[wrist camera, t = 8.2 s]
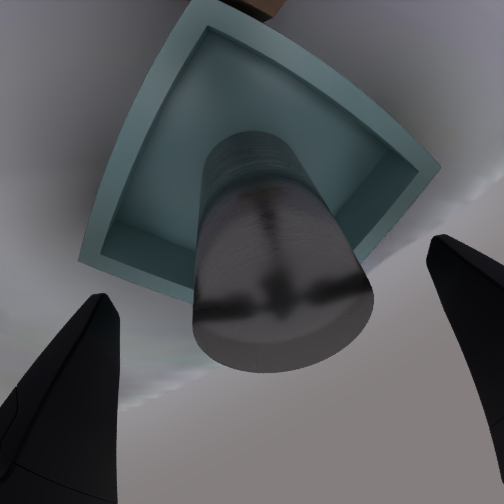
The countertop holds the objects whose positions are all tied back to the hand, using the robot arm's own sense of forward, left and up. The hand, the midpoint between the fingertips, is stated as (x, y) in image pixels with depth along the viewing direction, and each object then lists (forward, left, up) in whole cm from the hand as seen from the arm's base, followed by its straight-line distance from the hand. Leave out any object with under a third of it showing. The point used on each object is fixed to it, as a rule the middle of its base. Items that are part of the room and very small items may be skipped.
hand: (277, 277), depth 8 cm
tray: (0, 0, -7) cm, 7 cm away
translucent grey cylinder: (0, 0, -6) cm, 6 cm away
